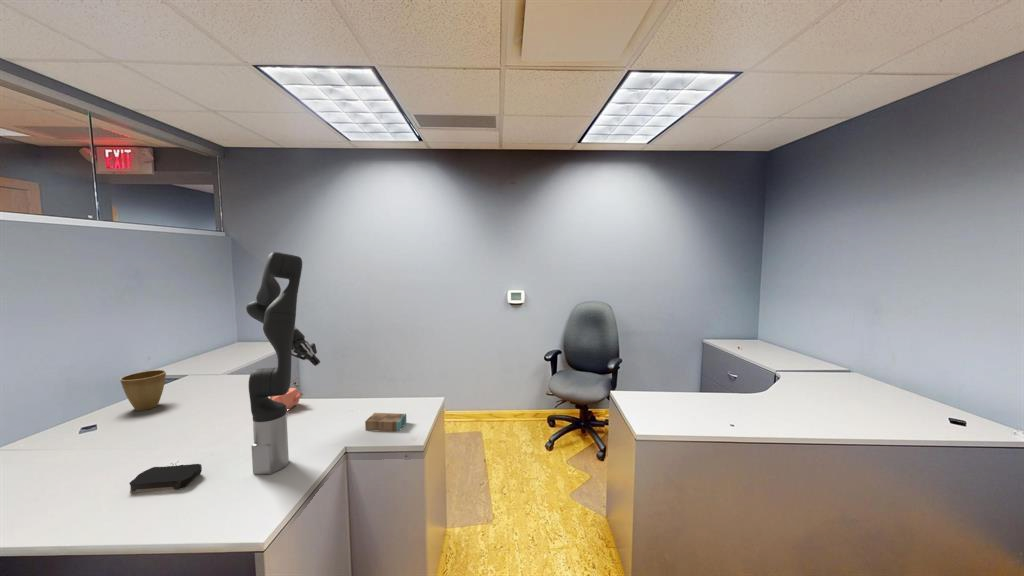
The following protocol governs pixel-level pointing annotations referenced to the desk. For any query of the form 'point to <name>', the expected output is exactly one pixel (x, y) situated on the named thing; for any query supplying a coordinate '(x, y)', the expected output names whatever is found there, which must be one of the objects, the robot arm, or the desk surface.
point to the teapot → (288, 398)
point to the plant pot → (144, 388)
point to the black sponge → (165, 478)
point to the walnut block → (385, 422)
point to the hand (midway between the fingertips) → (318, 363)
